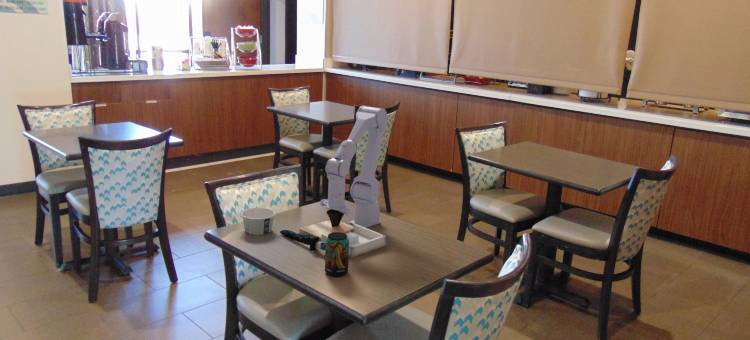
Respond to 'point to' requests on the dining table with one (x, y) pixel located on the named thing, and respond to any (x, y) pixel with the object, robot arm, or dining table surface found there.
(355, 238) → the blue tile
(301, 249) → the dining table surface
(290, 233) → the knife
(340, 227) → the terracotta tile
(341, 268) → the beverage can
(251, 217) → the food container
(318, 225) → the birch plate
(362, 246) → the box
